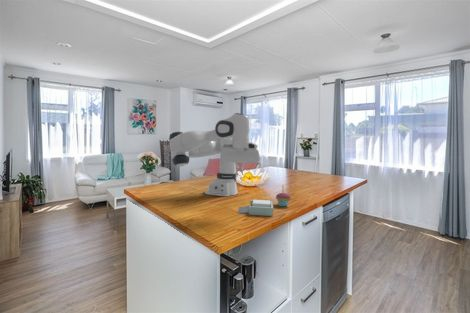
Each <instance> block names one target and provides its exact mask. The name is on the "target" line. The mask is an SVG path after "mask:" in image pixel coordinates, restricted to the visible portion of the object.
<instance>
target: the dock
mask: <svg viewBox="0 0 470 313" xmlns="http://www.w3.org/2000/svg"><path fill="white" fill-rule="evenodd" d="M253 200H254V199H250V202H249V203H250V204H249V205H247V206H246V205H245V206H239V208H238V210H237V214H244V215H245V214H246V215H249V216H268V217H274V204H273V203H274V202H273V200H269V201H270V207H254V206H253Z"/></svg>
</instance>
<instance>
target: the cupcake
mask: <svg viewBox="0 0 470 313" xmlns="http://www.w3.org/2000/svg"><path fill="white" fill-rule="evenodd" d="M281 187H282V190H281V191H282V192H279V193H277V194H276V195H275V196H276V197H275V199H276V201H277V203H278V206H280V207H287V206H288V203H289V201H291V198H292V197H291V195H290V194H288V193H286V192H285V191H284V188H285V187H284V184H282V186H281ZM286 205H287V206H286Z"/></svg>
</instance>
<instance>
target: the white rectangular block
mask: <svg viewBox="0 0 470 313" xmlns="http://www.w3.org/2000/svg"><path fill="white" fill-rule="evenodd" d="M252 200H253V206H254V207H270V201H271V200H267V199H266V200H265V199H252Z"/></svg>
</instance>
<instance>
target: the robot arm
mask: <svg viewBox="0 0 470 313" xmlns="http://www.w3.org/2000/svg"><path fill="white" fill-rule="evenodd" d="M249 133H250V119H249V116H248V115H247V114H244V113H241V112H235V113H233V114H232V115H231V116H229V117H227V118H225V119H221V120H219V121H217V123H215V128H214V129H212V130H190V131H185V132H183V131H173V132H172V133H170V135H169V138H168V139H169V140H168V141H169V151H170V155H171V160H172V161H171V162H172V165H175V167H184V166H186V165H188V164H189V162H190V159H193V158H203V157H211V156H215V155H219V156H220V157H219V171H218V172H217V173H216V178H215V179H214V180H212V181H211V182H210V183H209V184H208V186H207V187H208V189H206V190H205V191H204V194H205V195H209V196H210V195H211V196H220V197H229V196H236V195H237V194H238V193H239V192H238V187H237V177H238V174H237V172H243V171H244V167H245V165H246V164H259V163H260V162H261V161H260V160H261V159H260V152H259V149H258V147H259V146H258V144H256V143H254V142H251V141H250V136H249ZM239 163H241V165H242V166H241V167H239Z"/></svg>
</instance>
